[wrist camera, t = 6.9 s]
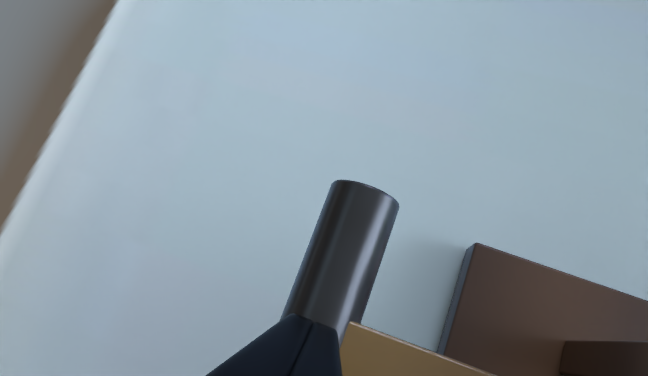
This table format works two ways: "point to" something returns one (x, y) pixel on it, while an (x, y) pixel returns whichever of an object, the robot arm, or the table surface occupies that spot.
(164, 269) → the table surface
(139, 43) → the table surface
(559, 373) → the stand
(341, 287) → the tap lever
